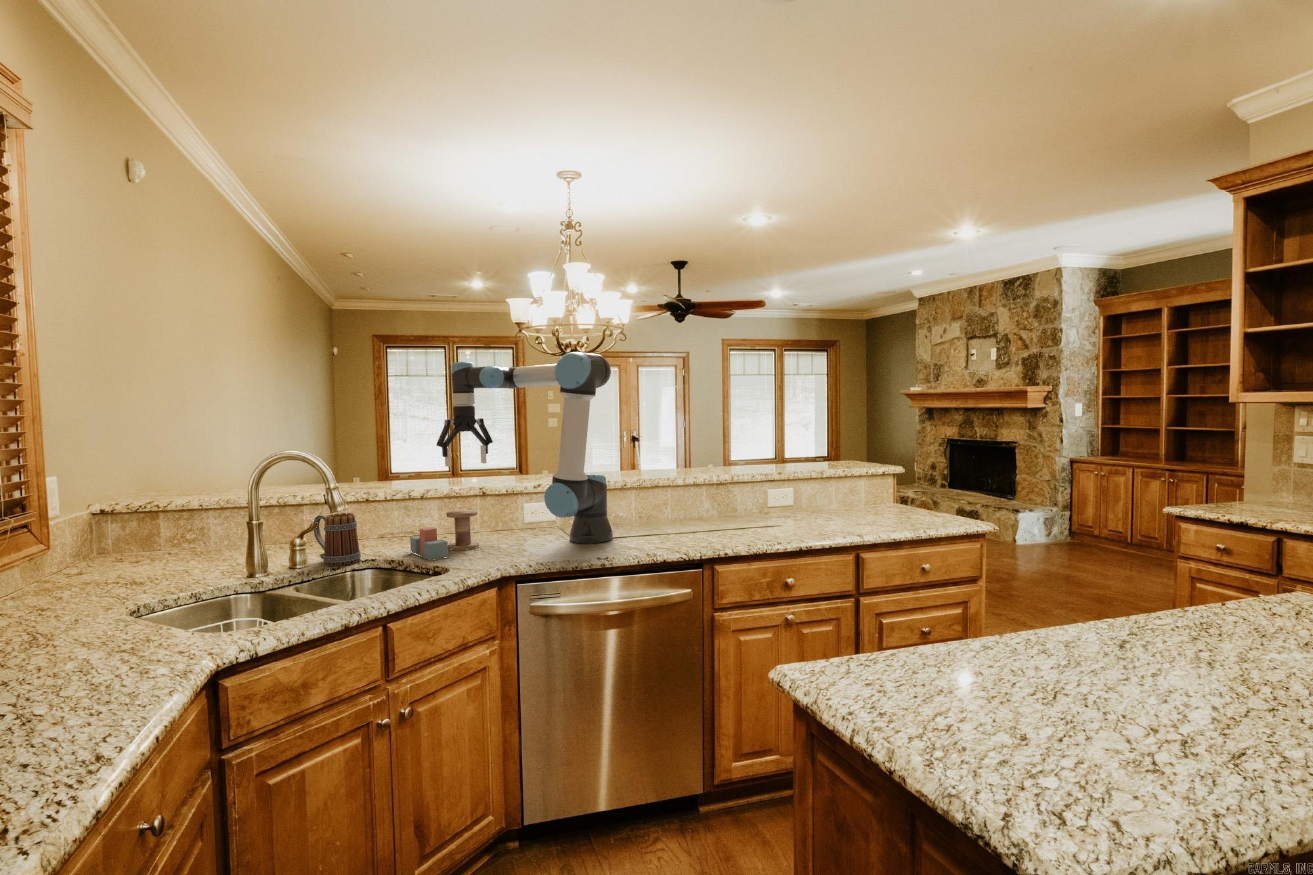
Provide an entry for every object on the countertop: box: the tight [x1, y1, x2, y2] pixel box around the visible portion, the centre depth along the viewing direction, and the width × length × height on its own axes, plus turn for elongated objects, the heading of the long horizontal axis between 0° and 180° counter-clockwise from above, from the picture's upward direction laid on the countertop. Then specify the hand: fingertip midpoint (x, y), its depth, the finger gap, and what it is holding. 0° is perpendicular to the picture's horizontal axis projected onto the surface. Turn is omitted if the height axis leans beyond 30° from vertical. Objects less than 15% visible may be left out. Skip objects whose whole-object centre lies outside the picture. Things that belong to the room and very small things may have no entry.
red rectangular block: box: [419, 526, 438, 554], centre depth 219 cm, size 4×4×8 cm
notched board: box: [409, 535, 449, 561], centre depth 219 cm, size 16×6×5 cm, turn 40°
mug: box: [312, 512, 362, 567], centre depth 212 cm, size 16×11×15 cm
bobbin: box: [446, 509, 479, 551], centre depth 229 cm, size 10×10×12 cm
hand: (466, 464), depth 243 cm, fingers open, 13 cm apart
